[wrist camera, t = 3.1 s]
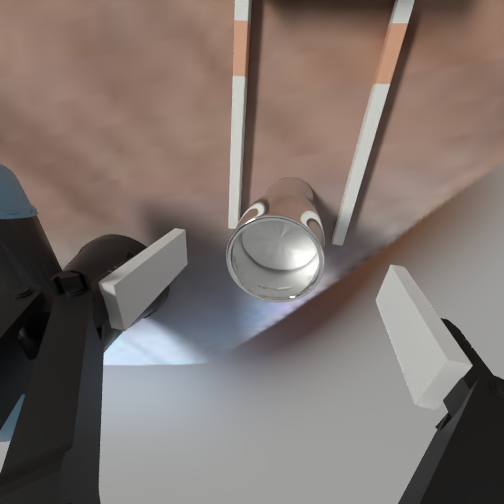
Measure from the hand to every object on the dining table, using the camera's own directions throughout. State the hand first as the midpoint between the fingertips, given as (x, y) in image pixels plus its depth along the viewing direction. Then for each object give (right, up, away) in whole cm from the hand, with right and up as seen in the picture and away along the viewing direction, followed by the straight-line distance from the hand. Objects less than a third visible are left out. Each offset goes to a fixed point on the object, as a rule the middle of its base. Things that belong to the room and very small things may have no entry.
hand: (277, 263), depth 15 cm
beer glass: (+3, +7, +13) cm, 15 cm away
